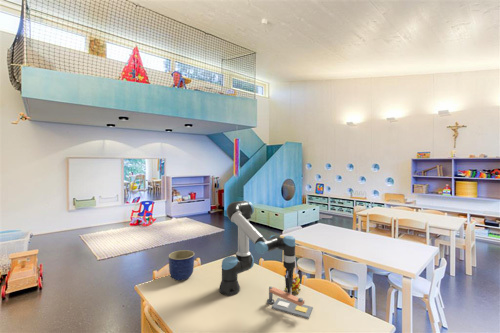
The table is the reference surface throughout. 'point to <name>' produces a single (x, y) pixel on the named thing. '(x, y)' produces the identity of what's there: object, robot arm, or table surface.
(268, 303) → the pivot pedestal
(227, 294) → the robot arm
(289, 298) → the swing arm
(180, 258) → the planter
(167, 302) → the table surface
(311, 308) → the label board
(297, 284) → the toy
